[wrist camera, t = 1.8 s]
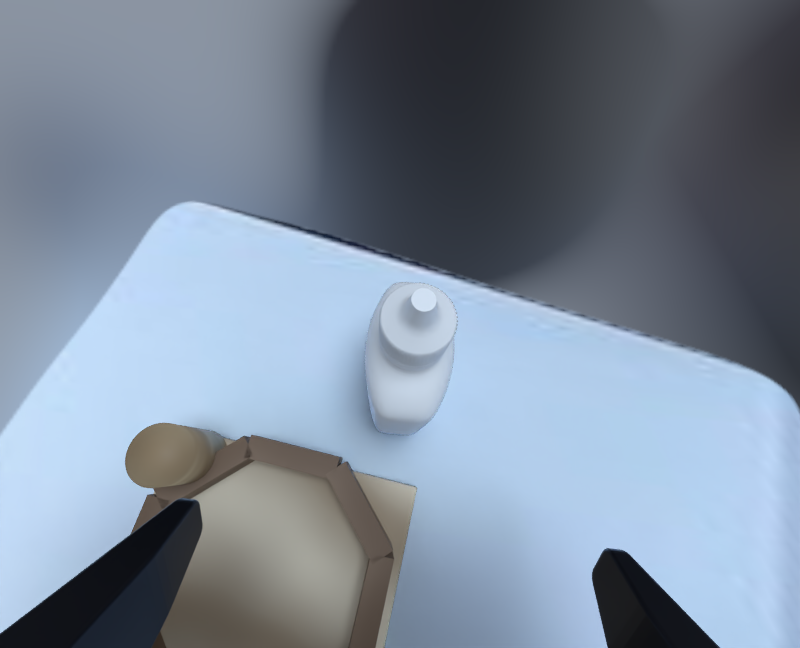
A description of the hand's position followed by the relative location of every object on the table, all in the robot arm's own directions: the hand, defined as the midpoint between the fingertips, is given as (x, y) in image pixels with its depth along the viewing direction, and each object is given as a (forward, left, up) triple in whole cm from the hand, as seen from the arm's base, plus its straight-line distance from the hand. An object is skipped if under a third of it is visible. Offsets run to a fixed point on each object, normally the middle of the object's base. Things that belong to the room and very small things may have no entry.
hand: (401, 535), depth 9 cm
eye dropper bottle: (+6, +1, -12) cm, 13 cm away
